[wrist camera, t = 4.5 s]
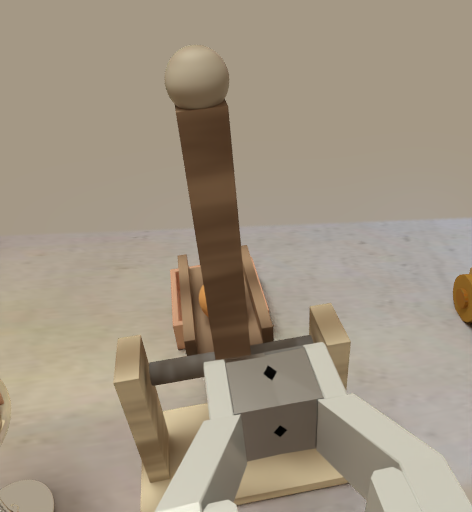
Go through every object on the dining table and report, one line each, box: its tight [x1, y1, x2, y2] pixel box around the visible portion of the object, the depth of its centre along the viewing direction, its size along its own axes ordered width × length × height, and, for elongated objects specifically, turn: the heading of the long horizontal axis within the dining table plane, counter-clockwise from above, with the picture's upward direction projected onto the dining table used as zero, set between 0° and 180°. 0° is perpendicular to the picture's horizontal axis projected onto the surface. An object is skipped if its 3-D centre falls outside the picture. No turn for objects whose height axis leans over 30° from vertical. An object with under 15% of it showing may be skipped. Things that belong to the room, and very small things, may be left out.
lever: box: [149, 45, 314, 386], centre depth 30 cm, size 14×12×22 cm
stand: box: [113, 303, 351, 512], centre depth 34 cm, size 9×17×13 cm, turn 99°
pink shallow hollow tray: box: [170, 257, 269, 350], centre depth 51 cm, size 10×10×4 cm
